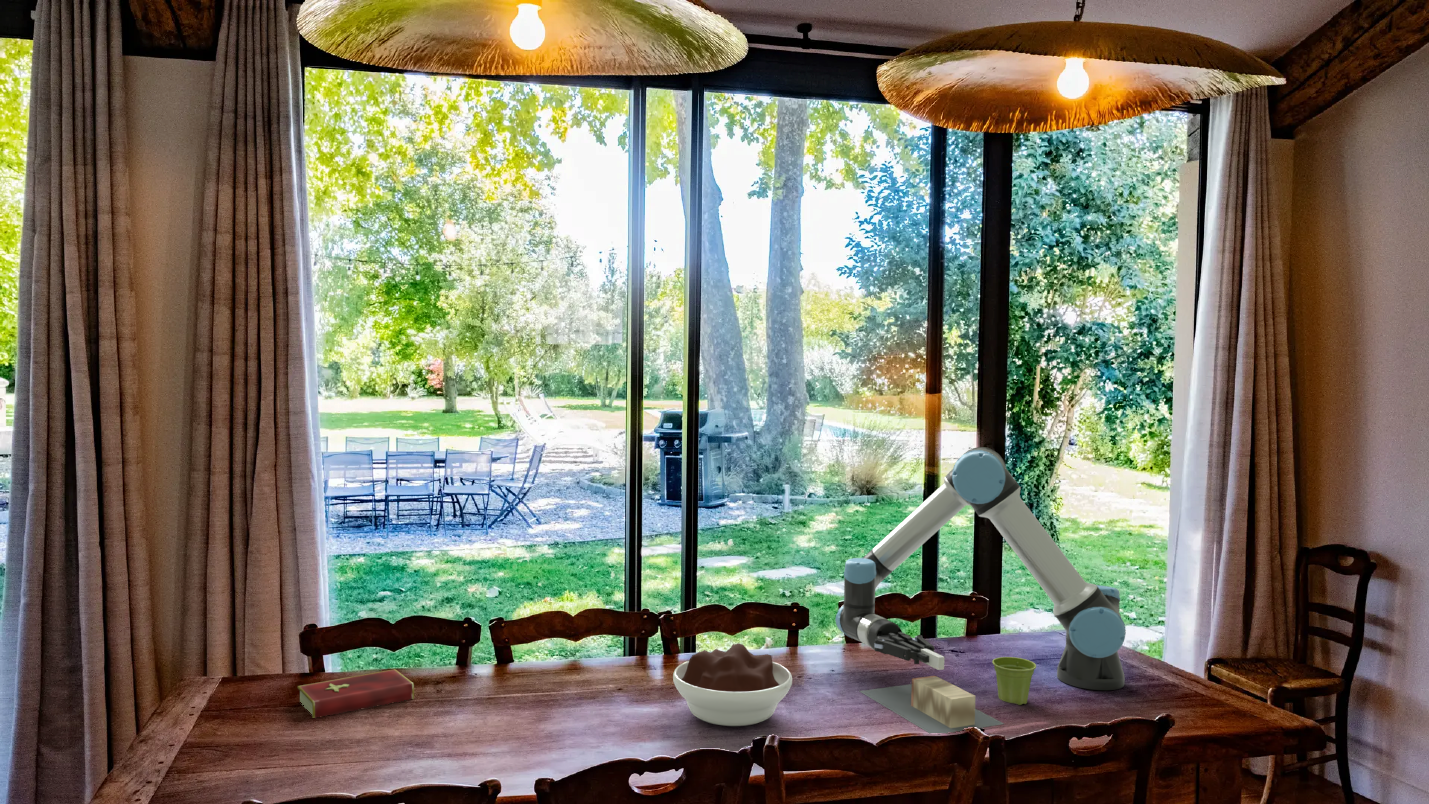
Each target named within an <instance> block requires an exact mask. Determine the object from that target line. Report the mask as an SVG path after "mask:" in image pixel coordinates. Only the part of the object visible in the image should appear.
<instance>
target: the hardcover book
mask: <svg viewBox="0 0 1429 804" xmlns="http://www.w3.org/2000/svg"><path fill="white" fill-rule="evenodd" d="M297 689H298V691H299V703H300V702H301V703H302V704H301V703H300V704H301V705H302V706H303V705H304V706H303V707H304V709H305V710H306V709H307V710H308V711H309V712H310V713H311V714H312V715H311V714H310V713H309V712H308V711H307V710H306V711H307V712H308V713H309V714H310V715H311V716H312V717H311V718H315V719H317V718H316V717H320V716H325V717H327V716H326V715H330V716H333V715H332V714H336V715H340V714H339V713H341V714H344V713H343V712H346V713H348V712H347V711H351V712H355V710H356V711H359V710H358V709H361V708H366V709H370V708H369V707H371V708H374V707H373V706H377V705H382V706H386V705H385V704H387V705H390V704H389V703H392V702H397V703H402V702H405V701H404V700H407V701H410V700H409V699H413V700H415V684H414V682H412V681H411V680H410V679H409V678H407V677H406V676H405V675H404V674H402V673H401V672H400V671H398V670H397V669H396V668H394V669H389V670H388V669H387V670H383V671H378V672H371V673H366V674H361V675H360V674H359V675H355V676H348V677H343V678H338V679H336V678H335V679H331V680H326V681H325V680H324V681H320V682H315V683H314V682H313V683H308V684H303V685H297ZM401 701H402V702H401ZM392 704H393V703H392ZM377 707H378V706H377ZM361 710H362V709H361ZM320 718H321V717H320Z"/></svg>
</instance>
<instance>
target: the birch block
mask: <svg viewBox="0 0 1429 804" xmlns="http://www.w3.org/2000/svg"><path fill="white" fill-rule="evenodd" d="M911 684H912V693H911V706H913V707H914V708H916V709H918V710H920V711H921V712H923V713H925V714H927V715H928V716H930V717H932V718H934V719H935V720H937V721H939V722H941V723H942V724H944V725H946V726H948V727H949V728H956V727H962V726H968V725H975V709H976V695H974V694H973V693H970V692H968V691H966V690H965V689H963V688H960V687H958V686H957V685H954V684H952V683H950V682H949V681H947V680H944V679H943V678H941V677H938V676H937V675H930V676H921V677H913V678H911Z"/></svg>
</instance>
